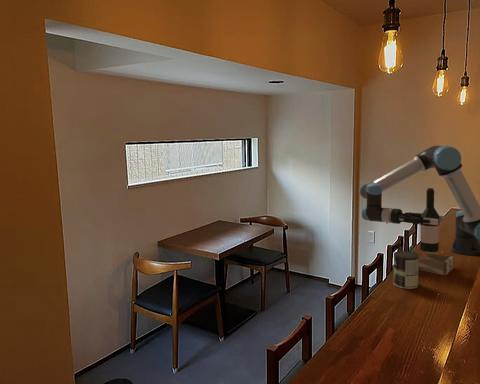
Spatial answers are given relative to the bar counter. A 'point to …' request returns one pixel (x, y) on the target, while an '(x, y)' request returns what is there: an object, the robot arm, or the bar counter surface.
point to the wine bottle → (429, 226)
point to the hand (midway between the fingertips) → (440, 220)
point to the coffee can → (406, 269)
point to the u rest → (436, 263)
